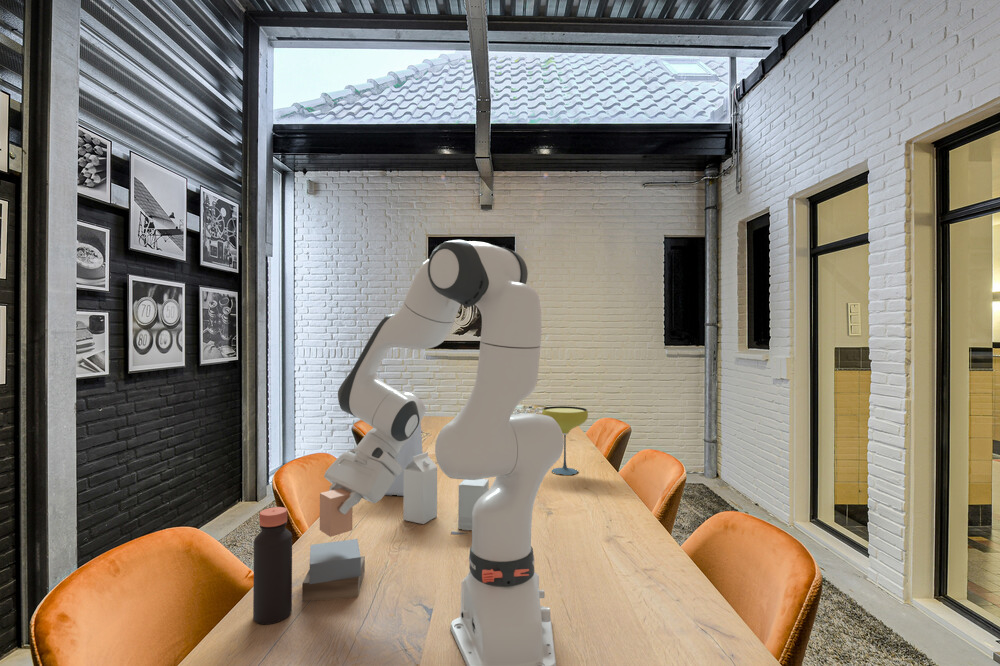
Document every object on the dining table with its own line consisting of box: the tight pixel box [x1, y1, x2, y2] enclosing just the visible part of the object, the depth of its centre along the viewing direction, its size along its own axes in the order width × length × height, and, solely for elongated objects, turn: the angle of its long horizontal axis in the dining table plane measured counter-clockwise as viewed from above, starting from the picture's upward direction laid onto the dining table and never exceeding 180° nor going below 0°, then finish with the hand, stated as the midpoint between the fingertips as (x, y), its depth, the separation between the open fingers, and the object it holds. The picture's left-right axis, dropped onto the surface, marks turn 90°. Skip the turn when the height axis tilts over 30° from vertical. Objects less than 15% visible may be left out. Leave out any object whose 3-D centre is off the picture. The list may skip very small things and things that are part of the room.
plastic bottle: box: [384, 421, 424, 497], centre depth 173 cm, size 15×15×28 cm
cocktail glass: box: [541, 405, 589, 476], centre depth 197 cm, size 18×18×25 cm
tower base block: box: [301, 555, 366, 602], centre depth 106 cm, size 11×11×4 cm
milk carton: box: [402, 451, 438, 525], centre depth 146 cm, size 7×7×19 cm
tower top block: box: [309, 538, 361, 584], centre depth 106 cm, size 10×10×4 cm
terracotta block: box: [319, 488, 353, 538], centre depth 107 cm, size 5×5×8 cm
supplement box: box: [457, 478, 490, 531], centre depth 140 cm, size 7×7×13 cm
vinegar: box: [252, 506, 293, 625], centre depth 95 cm, size 7×7×20 cm
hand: (333, 508), depth 106 cm, fingers closed on terracotta block, 5 cm apart
